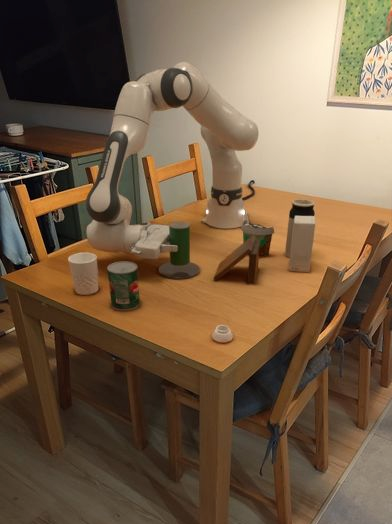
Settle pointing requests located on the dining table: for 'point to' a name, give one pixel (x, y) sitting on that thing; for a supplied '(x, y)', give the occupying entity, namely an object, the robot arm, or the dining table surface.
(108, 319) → the dining table surface
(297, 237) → the cosmetic box
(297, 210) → the travel mug
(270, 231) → the food container
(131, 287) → the canned tomato
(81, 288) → the white cup
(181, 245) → the can
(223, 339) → the white jar
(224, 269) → the stand
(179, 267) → the disc
